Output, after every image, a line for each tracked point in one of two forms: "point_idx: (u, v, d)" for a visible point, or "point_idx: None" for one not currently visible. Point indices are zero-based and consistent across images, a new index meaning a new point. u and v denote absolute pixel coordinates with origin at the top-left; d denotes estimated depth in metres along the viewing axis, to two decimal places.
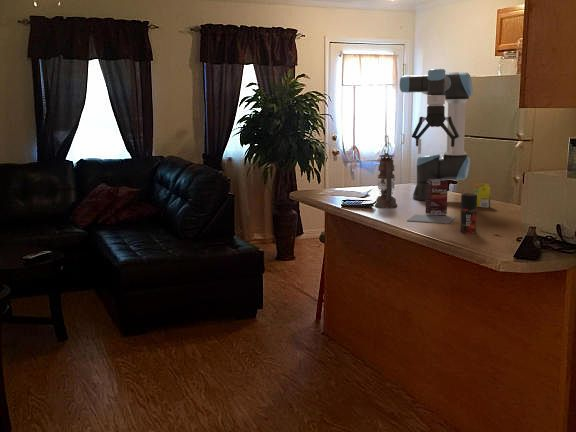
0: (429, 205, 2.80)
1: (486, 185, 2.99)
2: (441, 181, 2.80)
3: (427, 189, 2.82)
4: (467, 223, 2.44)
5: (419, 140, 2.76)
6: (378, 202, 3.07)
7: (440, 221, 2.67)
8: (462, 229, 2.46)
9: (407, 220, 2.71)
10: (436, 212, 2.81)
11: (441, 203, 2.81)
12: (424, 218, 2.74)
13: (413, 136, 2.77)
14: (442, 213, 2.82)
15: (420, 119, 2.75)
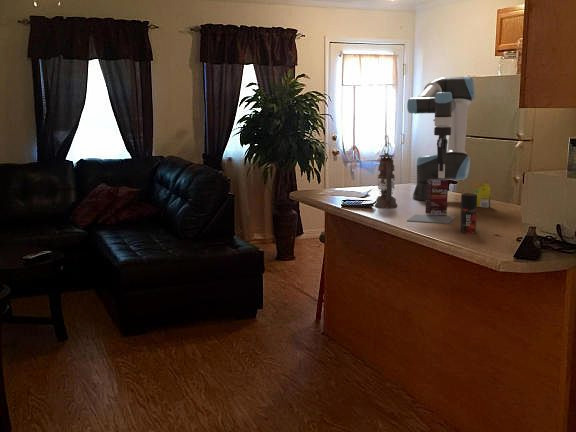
0: (429, 205, 2.80)
1: (486, 185, 2.99)
2: (441, 181, 2.79)
3: (427, 189, 2.82)
4: (467, 223, 2.44)
5: None
6: (378, 202, 3.07)
7: (440, 221, 2.67)
8: (462, 229, 2.46)
9: (407, 220, 2.71)
10: (436, 213, 2.81)
11: (442, 203, 2.81)
12: (424, 218, 2.74)
13: None
14: (442, 213, 2.82)
15: None
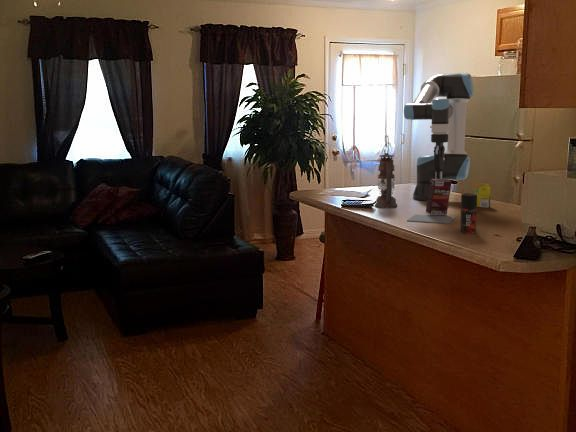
0: (430, 205, 2.80)
1: (486, 185, 2.99)
2: (445, 182, 2.78)
3: (430, 189, 2.80)
4: (467, 223, 2.44)
5: (435, 172, 2.84)
6: (378, 202, 3.07)
7: (440, 221, 2.67)
8: (462, 229, 2.46)
9: (407, 220, 2.71)
10: (436, 213, 2.81)
11: (443, 203, 2.80)
12: (424, 218, 2.74)
13: None
14: (442, 213, 2.82)
15: None
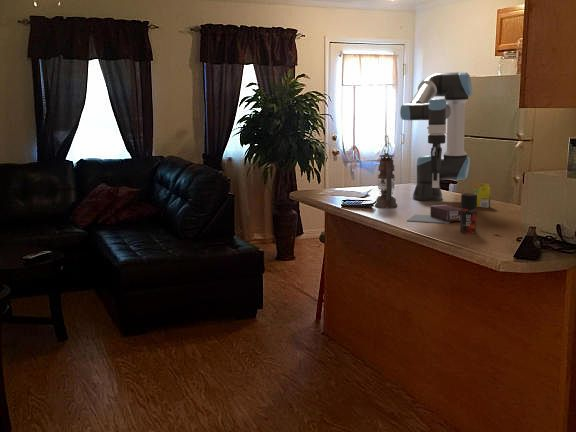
0: (434, 215, 2.76)
1: (486, 185, 2.99)
2: (458, 220, 2.67)
3: (443, 212, 2.69)
4: (467, 223, 2.44)
5: None
6: (378, 202, 3.07)
7: (440, 221, 2.67)
8: (462, 229, 2.46)
9: (407, 220, 2.71)
10: None
11: None
12: (424, 218, 2.74)
13: None
14: None
15: None
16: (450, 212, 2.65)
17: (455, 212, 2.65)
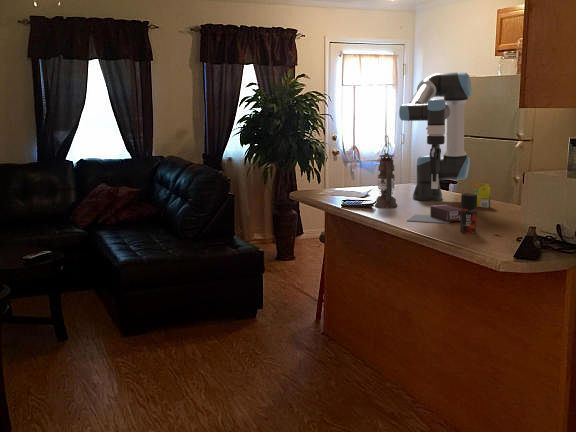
0: (434, 215, 2.76)
1: (486, 185, 2.99)
2: (458, 220, 2.67)
3: (443, 212, 2.69)
4: (467, 223, 2.44)
5: (432, 175, 2.76)
6: (378, 202, 3.07)
7: (440, 221, 2.67)
8: (462, 229, 2.46)
9: (407, 220, 2.71)
10: None
11: None
12: (424, 218, 2.74)
13: None
14: None
15: None
16: (450, 212, 2.65)
17: (455, 212, 2.65)
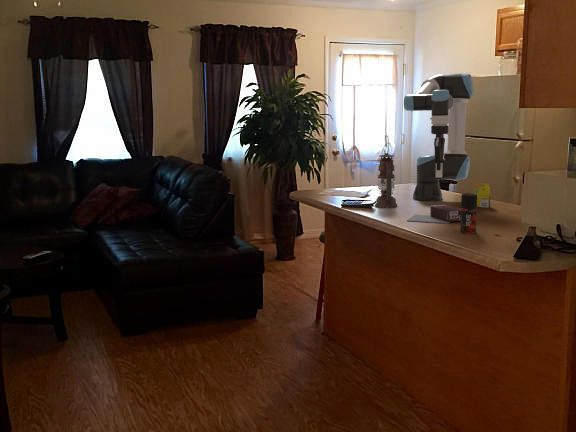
0: (434, 215, 2.76)
1: (486, 185, 2.98)
2: (458, 220, 2.67)
3: (443, 212, 2.69)
4: (467, 223, 2.44)
5: (436, 163, 2.83)
6: (378, 202, 3.07)
7: (440, 221, 2.67)
8: (462, 229, 2.46)
9: (407, 220, 2.71)
10: None
11: None
12: (424, 218, 2.74)
13: None
14: None
15: None
16: (450, 212, 2.65)
17: (455, 212, 2.65)
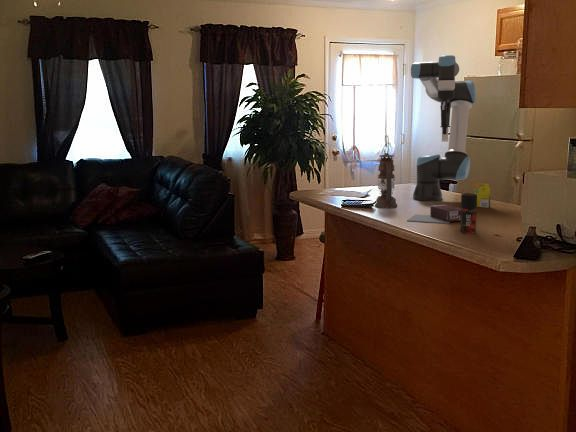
0: (434, 215, 2.76)
1: (486, 185, 2.98)
2: (458, 220, 2.67)
3: (443, 212, 2.69)
4: (467, 223, 2.44)
5: (442, 128, 2.91)
6: (378, 202, 3.07)
7: (440, 221, 2.67)
8: (462, 229, 2.46)
9: (407, 220, 2.71)
10: None
11: None
12: (424, 218, 2.74)
13: None
14: None
15: None
16: (450, 212, 2.65)
17: (455, 212, 2.65)
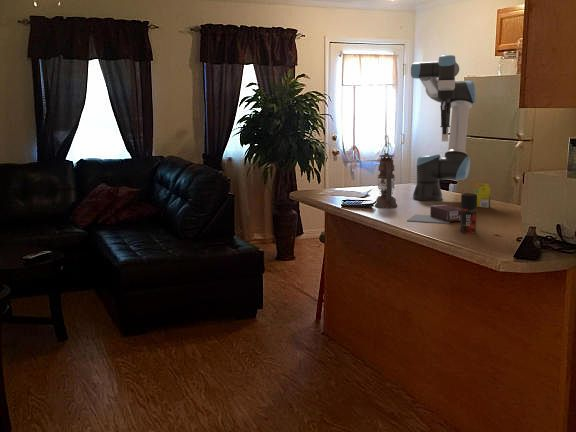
0: (434, 215, 2.76)
1: (486, 185, 2.99)
2: (458, 220, 2.67)
3: (443, 212, 2.69)
4: (467, 223, 2.44)
5: (442, 128, 2.91)
6: (378, 202, 3.07)
7: (440, 221, 2.67)
8: (462, 229, 2.46)
9: (407, 220, 2.71)
10: None
11: None
12: (424, 218, 2.74)
13: None
14: None
15: None
16: (450, 212, 2.65)
17: (455, 212, 2.65)
